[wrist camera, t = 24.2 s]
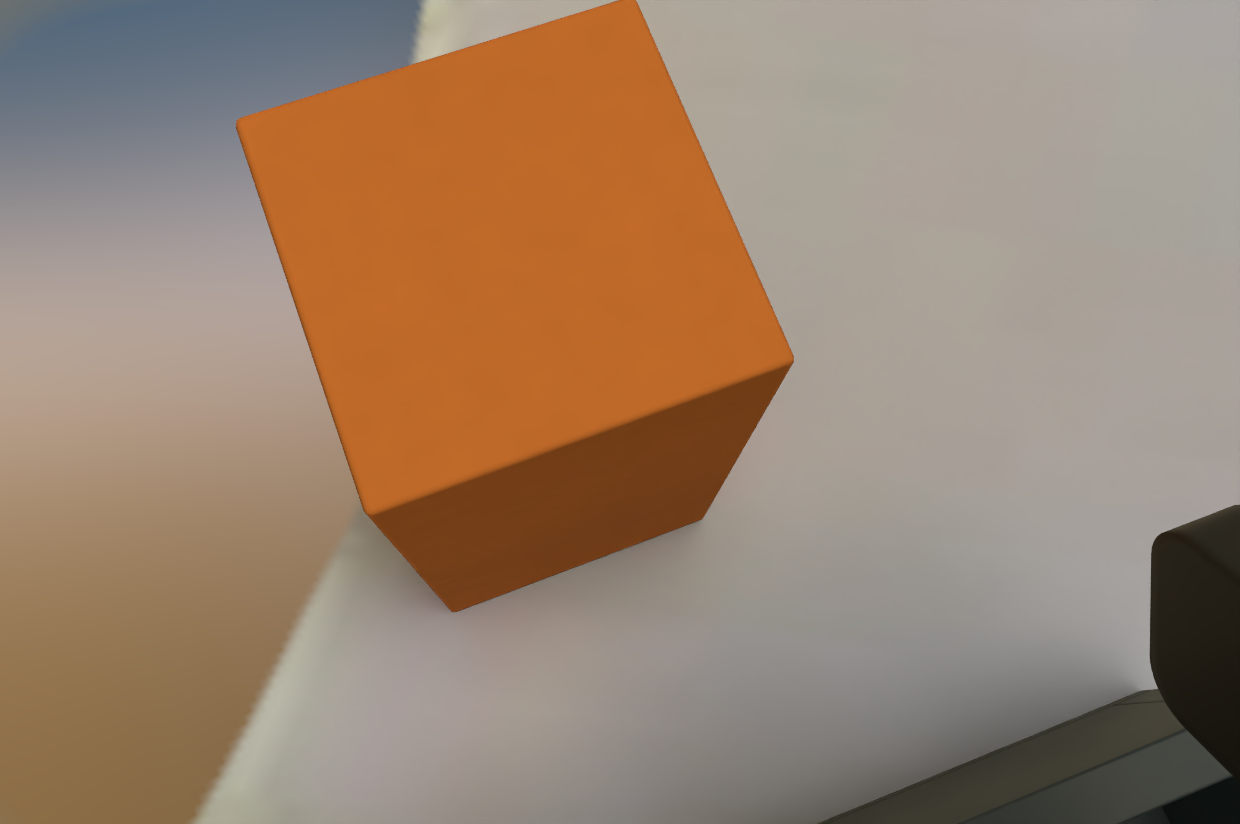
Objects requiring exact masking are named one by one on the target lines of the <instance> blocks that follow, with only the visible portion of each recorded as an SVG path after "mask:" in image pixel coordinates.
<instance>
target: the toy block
mask: <svg viewBox="0 0 1240 824" xmlns="http://www.w3.org/2000/svg"><path fill="white" fill-rule="evenodd" d="M236 129H237V132H238V135H239V138H240V141H241V144H242V147H243V150H244V153H245V156H246V159H247V162H248V165H249V168H250V171H251V174H252V177H253V180H254V183H255V186H256V189H257V192H258V195H259V198H260V201H261V204H262V207H263V210H264V213H265V216H266V219H267V222H268V225H269V228H270V231H271V234H272V237H273V240H274V243H275V246H276V249H277V252H278V255H279V258H280V261H281V264H282V267H283V270H284V273H285V276H286V279H287V282H288V285H289V288H290V291H291V294H292V297H293V300H294V303H295V306H296V309H297V312H298V315H299V318H300V321H301V324H302V327H303V330H304V333H305V336H306V339H307V342H308V345H309V348H310V351H311V354H312V357H313V360H314V363H315V366H316V369H317V372H318V375H319V378H320V381H321V384H322V386H323V390H324V393H325V396H326V399H327V402H328V405H329V408H330V411H331V414H332V417H333V420H334V423H335V426H336V429H337V432H338V435H339V438H340V441H341V444H342V447H343V450H344V453H345V456H346V459H347V462H348V465H349V468H350V471H351V474H352V477H353V480H354V483H355V486H356V489H357V492H358V495H359V498H360V501H361V504H362V507H363V510H364V512H365V513H366V514H367V515H368V516H369V517H370V519H371V520H372V521H373V522H374V523H375V524H376V525H377V527H378V528H379V529H380V530H381V531H382V532H383V533H384V535H385V536H386V537H387V538H388V539H389V540H390V541H391V543H392V544H393V545H394V546H395V547H396V548H397V549H398V551H399V552H400V553H401V554H402V555H403V556H404V557H405V559H406V560H407V561H408V562H409V563H410V564H411V565H412V567H413V568H414V569H415V570H416V571H417V572H418V573H419V575H420V576H421V577H422V578H423V579H424V580H425V581H426V583H427V584H428V585H429V586H430V587H431V588H432V589H433V591H434V592H435V593H436V594H437V595H438V596H439V598H440V599H441V600H442V601H443V602H444V603H445V604H446V606H447V607H448V608H449V609H450V610H451V611H452V612H457V611H460V610H462V609H465V608H468V607H470V606H473V605H476V604H478V603H481V602H484V601H486V600H489V599H491V598H494V597H497V596H499V595H502V594H505V593H507V592H510V591H513V590H515V589H518V588H521V587H523V586H526V585H529V584H531V583H534V582H537V581H539V580H542V579H545V578H547V577H550V576H553V575H555V574H558V573H560V572H563V571H566V570H568V569H571V568H574V567H576V566H579V565H582V564H584V563H587V562H590V561H592V560H595V559H598V558H600V557H603V556H606V555H608V554H611V553H614V552H616V551H619V550H622V549H624V548H627V547H629V546H632V545H635V544H637V543H640V542H643V541H645V540H648V539H651V538H653V537H656V536H659V535H661V534H664V533H667V532H669V531H672V530H675V529H677V528H680V527H683V526H685V525H688V524H691V523H693V522H696V521H698V520H701V519H702V518H703V517H704V516H705V514H706V512H707V510H708V509H709V507H710V505H711V503H712V502H713V500H714V498H715V497H716V495H717V493H718V491H719V490H720V488H721V486H722V485H723V483H724V481H725V479H726V478H727V476H728V474H729V472H730V471H731V469H732V467H733V466H734V464H735V462H736V460H737V459H738V457H739V455H740V453H741V452H742V450H743V448H744V447H745V445H746V443H747V441H748V440H749V438H750V436H751V434H752V433H753V431H754V429H755V428H756V426H757V424H758V422H759V421H760V419H761V417H762V416H763V414H764V412H765V410H766V409H767V407H768V405H769V403H770V402H771V400H772V398H773V397H774V395H775V393H776V391H777V390H778V388H779V386H780V384H781V383H782V381H783V379H784V378H785V376H786V374H787V372H788V371H789V369H790V367H791V365H792V364H793V362H794V356H793V354H792V351H791V349H790V347H789V345H788V342H787V340H786V338H785V335H784V333H783V331H782V329H781V326H780V324H779V322H778V320H777V317H776V315H775V313H774V311H773V308H772V306H771V304H770V302H769V299H768V297H767V295H766V293H765V290H764V288H763V286H762V283H761V281H760V279H759V277H758V274H757V272H756V270H755V268H754V265H753V263H752V261H751V259H750V256H749V254H748V252H747V250H746V247H745V245H744V243H743V241H742V238H741V236H740V234H739V231H738V229H737V227H736V225H735V222H734V220H733V218H732V216H731V213H730V211H729V209H728V207H727V204H726V202H725V200H724V198H723V195H722V193H721V191H720V189H719V186H718V184H717V182H716V180H715V177H714V175H713V173H712V170H711V168H710V166H709V164H708V161H707V159H706V157H705V155H704V152H703V150H702V148H701V146H700V143H699V141H698V139H697V137H696V134H695V132H694V130H693V128H692V125H691V123H690V121H689V118H688V116H687V114H686V112H685V109H684V107H683V105H682V103H681V100H680V98H679V96H678V94H677V91H676V89H675V87H674V85H673V82H672V80H671V78H670V76H669V73H668V71H667V69H666V66H665V64H664V62H663V60H662V57H661V55H660V53H659V51H658V48H657V46H656V44H655V42H654V39H653V37H652V35H651V33H650V30H649V28H648V26H647V24H646V21H645V19H644V17H643V15H642V12H641V10H640V8H639V5H638V3H637V2H636V0H619V1H615V2H612V3H609V4H606V5H603V6H599V7H596V8H593V9H590V10H586V11H583V12H580V13H577V14H574V15H570V16H567V17H564V18H561V19H557V20H554V21H551V22H548V23H545V24H541V25H538V26H535V27H532V28H528V29H525V30H522V31H519V32H516V33H512V34H509V35H506V36H503V37H499V38H496V39H493V40H490V41H487V42H483V43H480V44H477V45H474V46H470V47H467V48H464V49H461V50H458V51H454V52H451V53H448V54H445V55H442V56H438V57H435V58H432V59H429V60H425V61H422V62H419V63H416V64H413V65H409V66H406V67H403V68H400V69H397V70H393V71H390V72H387V73H384V74H381V75H377V76H374V77H371V78H367V79H364V80H361V81H358V82H355V83H352V84H348V85H345V86H342V87H338V88H335V89H332V90H329V91H326V92H322V93H319V94H316V95H313V96H310V97H306V98H303V99H300V100H297V101H293V102H290V103H287V104H284V105H280V106H277V107H274V108H271V109H268V110H265V111H261V112H258V113H255V114H252V115H248V116H245V117H242V118H240V119H238V120H237V123H236Z"/></svg>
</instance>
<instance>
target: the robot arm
mask: <svg viewBox="0 0 1240 824" xmlns="http://www.w3.org/2000/svg"><path fill="white" fill-rule="evenodd" d="M1150 663H1151V668H1152V672H1153V676H1154V679H1155V682H1156V684H1157V687H1158V689H1159V691H1160V693H1161V695H1162V697H1163V699H1164V701H1165V703H1166V704H1167V706H1168V708H1169V709H1170V711H1171V712H1172V714H1173V715H1174V716H1175V717H1176V719H1177V720H1178V721H1179V722H1180V723H1181V725H1182V726H1183V727H1184V728H1185V729H1186V730H1187V731H1188V732H1189V733H1190V734H1191V735H1192V736H1193V737H1194V738H1195V739H1196V740H1197V741H1198V742H1199V743H1200V744H1201V745H1202V746H1203V747H1204V748H1205V749H1206V750H1207V751H1208V752H1209V753H1210V754H1211V755H1212V756H1213V757H1214V758H1215V759H1216V760H1217V761H1218V762H1219V763H1220V764H1221V765H1222V766H1223V767H1224V768H1225V769H1226V770H1227V771H1228V772H1229V773H1230V774H1231V775H1232V776H1233V777H1234V778H1235V779H1236V780H1237V781H1238V782H1239V783H1240V505H1234V506H1231V507H1229V508H1226V509H1223V510H1221V511H1218V512H1216V513H1213V514H1210V515H1208V516H1205V517H1203V518H1200V519H1197V520H1195V521H1192V522H1190V523H1187V524H1185V525H1182V526H1179V527H1177V528H1174V529H1172V530H1169V531H1166V532H1164V533H1161V534H1160V535H1159V536H1157V537H1156V539H1155V541H1154V543H1153V546H1152V553H1151V610H1150Z"/></svg>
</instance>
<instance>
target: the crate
mask: <svg viewBox="0 0 1240 824" xmlns="http://www.w3.org/2000/svg"><path fill="white" fill-rule="evenodd" d="M819 824H1240V783H1239V782H1238V781H1237V780H1236V779H1235V778H1234V777H1233V776H1232V775H1231V774H1230V773H1229V772H1228V771H1227V770H1226V769H1225V768H1224V767H1223V766H1222V765H1221V764H1220V763H1219V762H1218V761H1217V760H1216V759H1215V758H1214V757H1213V756H1212V755H1211V754H1210V753H1209V752H1208V751H1207V750H1206V749H1205V748H1204V747H1203V746H1202V745H1201V744H1200V743H1199V742H1198V741H1197V740H1196V739H1195V738H1194V737H1193V736H1192V735H1191V734H1190V733H1189V732H1188V731H1187V730H1186V729H1185V728H1184V727H1183V726H1182V725H1181V723H1180V722H1179V721H1178V720H1177V719H1176V717H1175V716H1174V715H1173V714H1172V712H1171V711H1170V709H1169V708H1168V706H1167V704H1166V703H1165V701H1164V699H1163V697H1162V695H1161V693H1160V691H1159V689H1154V690H1144V691H1140V692H1137V693H1135V694H1133V695H1130V696H1128V697H1125V698H1123V699H1120V700H1118V701H1116V702H1113V703H1111V704H1108V705H1106V706H1103V707H1101V708H1099V709H1096V710H1094V711H1091V712H1089V713H1086V714H1084V715H1081V716H1079V717H1077V718H1074V719H1072V720H1069V721H1067V722H1064V723H1062V724H1060V725H1057V726H1055V727H1052V728H1050V729H1047V730H1045V731H1043V732H1040V733H1038V734H1035V735H1033V736H1030V737H1028V738H1025V739H1023V740H1021V741H1018V742H1016V743H1013V744H1011V745H1008V746H1006V747H1004V748H1001V749H999V750H996V751H994V752H991V753H989V754H987V755H984V756H982V757H979V758H977V759H974V760H972V761H970V762H967V763H965V764H962V765H960V766H957V767H955V768H952V769H950V770H948V771H945V772H943V773H940V774H938V775H935V776H933V777H931V778H928V779H926V780H923V781H921V782H918V783H916V784H914V785H911V786H909V787H906V788H904V789H901V790H899V791H896V792H894V793H892V794H889V795H887V796H884V797H882V798H879V799H877V800H875V801H872V802H870V803H867V804H865V805H862V806H860V807H858V808H855V809H853V810H850V811H848V812H845V813H843V814H840V815H838V816H836V817H833V818H831V819H828V820H826V821H823V822H821V823H819Z"/></svg>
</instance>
